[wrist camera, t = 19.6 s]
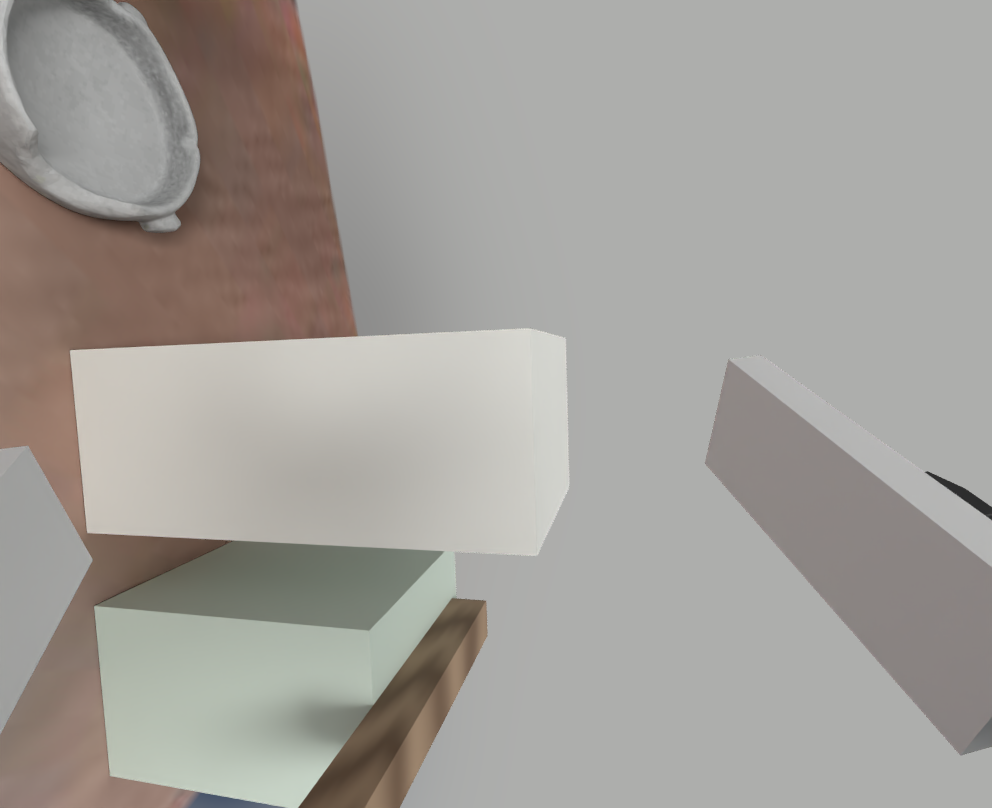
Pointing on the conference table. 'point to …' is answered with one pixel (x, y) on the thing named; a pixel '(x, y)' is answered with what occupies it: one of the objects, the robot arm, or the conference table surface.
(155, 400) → the off-white rectangular block
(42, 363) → the conference table surface
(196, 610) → the low stand
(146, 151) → the dish
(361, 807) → the walnut bar
